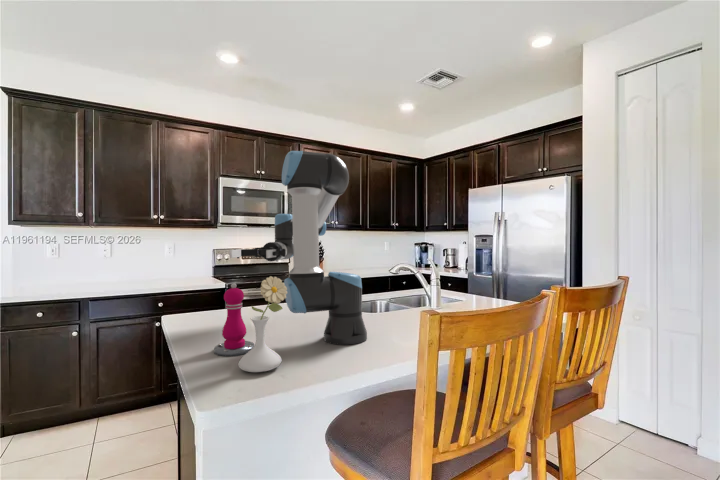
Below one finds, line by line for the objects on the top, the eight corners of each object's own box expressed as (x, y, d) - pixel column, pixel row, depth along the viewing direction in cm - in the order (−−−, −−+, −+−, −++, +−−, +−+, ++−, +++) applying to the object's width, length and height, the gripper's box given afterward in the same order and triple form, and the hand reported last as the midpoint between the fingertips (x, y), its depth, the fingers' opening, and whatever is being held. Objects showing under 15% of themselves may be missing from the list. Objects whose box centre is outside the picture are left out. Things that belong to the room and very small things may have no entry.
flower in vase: (240, 379, 89) (239, 280, 89) (236, 364, 100) (235, 275, 99) (291, 371, 94) (291, 277, 94) (283, 358, 105) (282, 273, 105)
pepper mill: (230, 342, 117) (229, 281, 117) (250, 343, 116) (249, 281, 115) (217, 349, 110) (216, 284, 110) (239, 350, 108) (238, 284, 108)
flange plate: (260, 345, 117) (260, 340, 117) (242, 357, 106) (242, 352, 106) (227, 343, 119) (227, 338, 119) (205, 355, 108) (205, 349, 108)
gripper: (304, 261, 141) (283, 265, 120) (245, 260, 145) (215, 264, 124) (303, 242, 141) (283, 243, 120) (245, 242, 145) (215, 243, 124)
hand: (248, 254), depth 122 cm, fingers open, 13 cm apart
